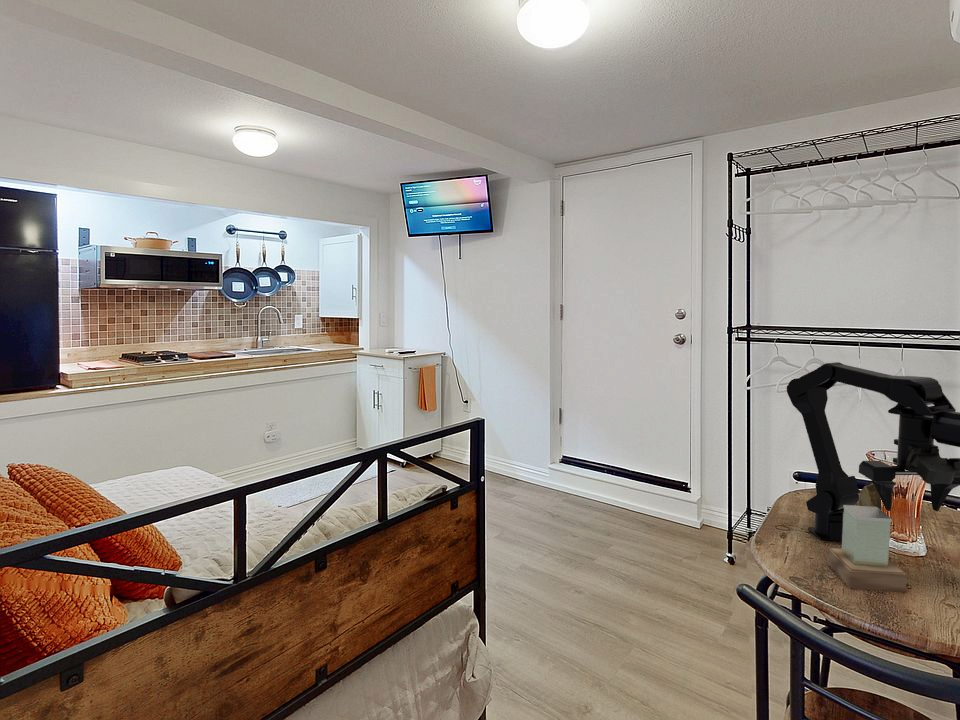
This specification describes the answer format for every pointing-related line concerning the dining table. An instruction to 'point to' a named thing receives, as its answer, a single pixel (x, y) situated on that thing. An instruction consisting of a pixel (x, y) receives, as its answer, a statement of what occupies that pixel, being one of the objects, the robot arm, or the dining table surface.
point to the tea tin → (866, 535)
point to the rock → (870, 497)
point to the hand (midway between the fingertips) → (911, 510)
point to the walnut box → (866, 573)
